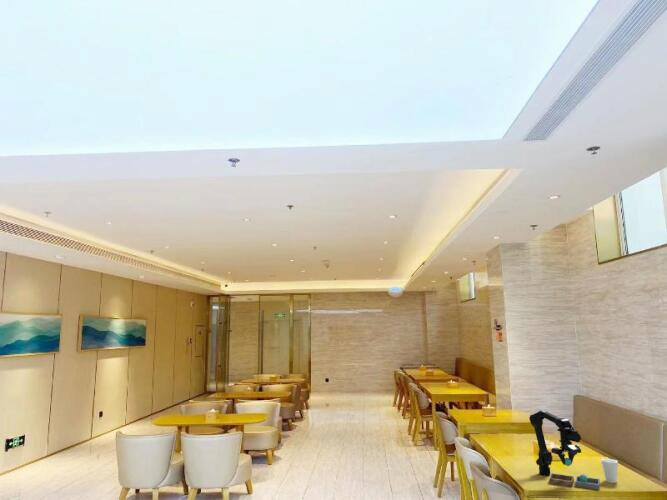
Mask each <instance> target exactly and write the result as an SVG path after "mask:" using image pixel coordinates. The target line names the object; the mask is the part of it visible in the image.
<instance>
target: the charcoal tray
mask: <svg viewBox="0 0 667 500" xmlns="http://www.w3.org/2000/svg"><path fill="white" fill-rule="evenodd" d="M579 476H580V475H576V477H575V480H574V482H575V487H577V488H582V489H583V488H584V489H589V490H595V491H596V490H598V491H600V490H601V489H600V488H601V482H600V481H601V480H600V479H599V478H594V477H593V478H592V477H587V478H588V481H587V482H586V483H584V482H581V481H580V479H579Z"/></svg>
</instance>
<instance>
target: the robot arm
mask: <svg viewBox="0 0 667 500" xmlns="http://www.w3.org/2000/svg"><path fill="white" fill-rule="evenodd" d="M544 420H546V421H547V420H548V421H550V422H551V423H553V424H555V426H556V427H558V428H557V429H556V431H558V432H559V435H560V437H559V438H560V439H559V443H560V446H559V448H558V447H552V448H551V451H550V450H549V449H548V448H547V443H546V439H545V435H544V431H543V424H544ZM529 423H530V424H531V426H532V427H533V428H534V432H535V437H536V441H537V445H538V449H539V451H538V453H537V454H538V458H537V459H536V460H535V463H536V465H537V466H538V475H539V474H541V476H546V475H547V477H549V476H551V467H550V466H551V465H552V463H553V458H554V457H553V454H555V455H557V456H558V457H559V459H560V461H561V463H562V465H564V466H566V465H565V458H566V457H565V456H566V454H565V453H567V455H568V457H567V458H569V459H570V460H571V462H572V463H571V465H572V464H573V462H574V457H575V456H576V455H578V454H580V453H582V449H581V447H580V445H579V444H573V442H574V443H580V442H581V440H582V439H581V438H582V436H581V434H580V433H579V432H578V430H575V428H574V427H573V425H572V423H571V422H570V420H569V419H568V418H564V417H558V416H557V415H555V414H552V413H551V412H548V411H547V410H545V409H544V410H538V411H537V412H534V413H533V414H530V415H529Z"/></svg>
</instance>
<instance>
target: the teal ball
mask: <svg viewBox="0 0 667 500" xmlns="http://www.w3.org/2000/svg"><path fill="white" fill-rule="evenodd" d="M571 463H572V464H573V462H571V460H570V459H569V457H565V465H564V466H566V467H570V466H571V465H572V464H571Z"/></svg>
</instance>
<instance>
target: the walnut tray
mask: <svg viewBox="0 0 667 500" xmlns="http://www.w3.org/2000/svg"><path fill="white" fill-rule="evenodd" d="M549 476H550V477H549V484H551V485H558V486H565V487H569V488H570V487H571V488H573V487H574V482H575V478H574V476H573V475H566V474H559V473H550V475H549Z"/></svg>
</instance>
